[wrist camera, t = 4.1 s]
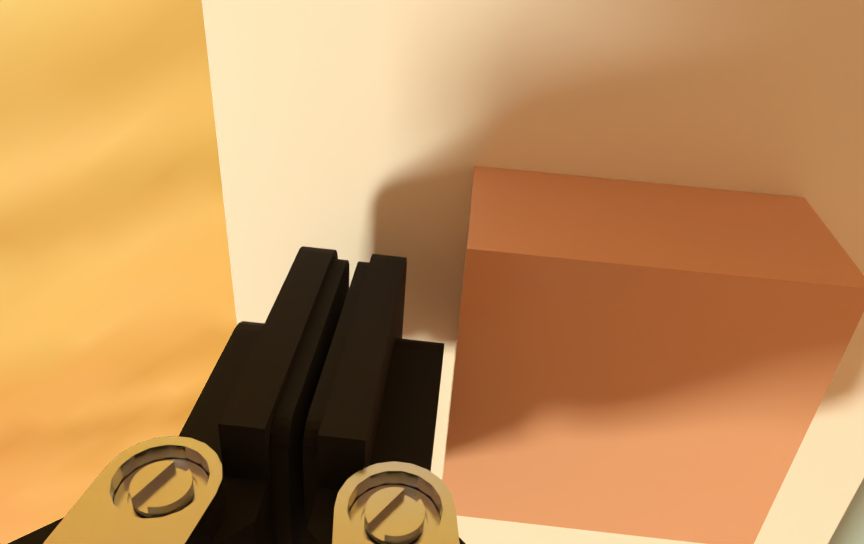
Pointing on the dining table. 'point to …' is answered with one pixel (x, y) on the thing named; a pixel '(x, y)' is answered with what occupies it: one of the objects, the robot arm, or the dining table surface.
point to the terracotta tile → (639, 353)
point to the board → (535, 155)
